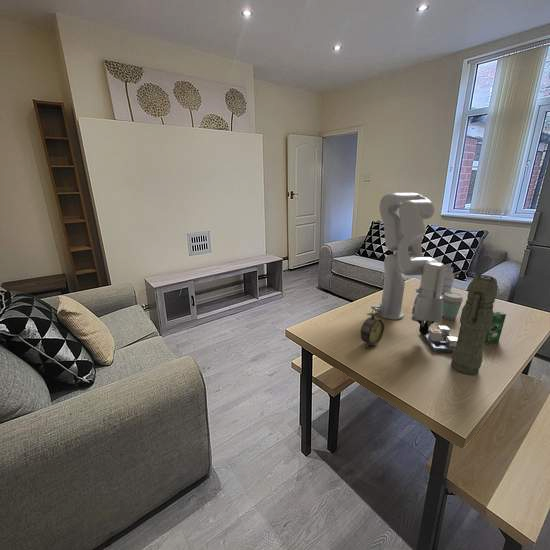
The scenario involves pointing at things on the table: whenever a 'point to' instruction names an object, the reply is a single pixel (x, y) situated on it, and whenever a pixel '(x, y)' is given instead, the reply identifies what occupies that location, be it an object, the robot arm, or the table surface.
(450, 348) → the panel
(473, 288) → the thermos
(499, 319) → the coffee box
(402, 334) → the table surface
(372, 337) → the alarm clock
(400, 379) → the table surface
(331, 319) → the table surface
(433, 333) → the block
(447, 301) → the coffee cup
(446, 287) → the plastic bottle
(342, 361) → the table surface
